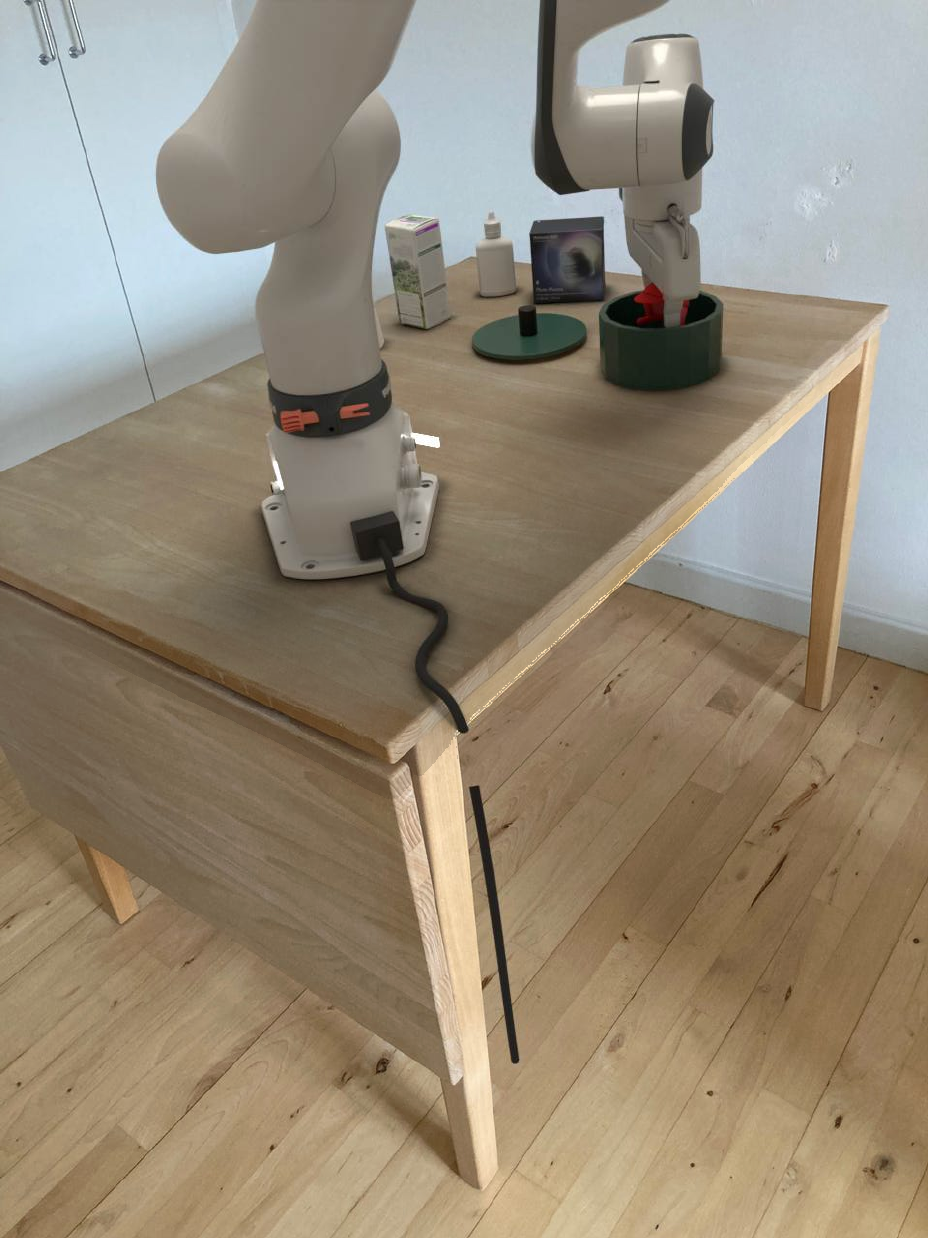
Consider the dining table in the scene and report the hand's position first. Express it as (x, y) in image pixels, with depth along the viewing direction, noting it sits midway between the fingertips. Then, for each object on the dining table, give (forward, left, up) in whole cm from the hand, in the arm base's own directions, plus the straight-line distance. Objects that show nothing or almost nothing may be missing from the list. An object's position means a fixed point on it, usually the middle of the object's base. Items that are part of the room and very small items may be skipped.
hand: (661, 314), depth 125 cm
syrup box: (+29, +28, -7) cm, 41 cm away
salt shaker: (+22, +37, -7) cm, 43 cm away
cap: (0, 0, -2) cm, 2 cm away
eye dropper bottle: (+37, +16, -7) cm, 41 cm away
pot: (0, 0, -7) cm, 7 cm away
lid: (+15, +14, -6) cm, 22 cm away
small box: (+31, +6, -7) cm, 33 cm away
